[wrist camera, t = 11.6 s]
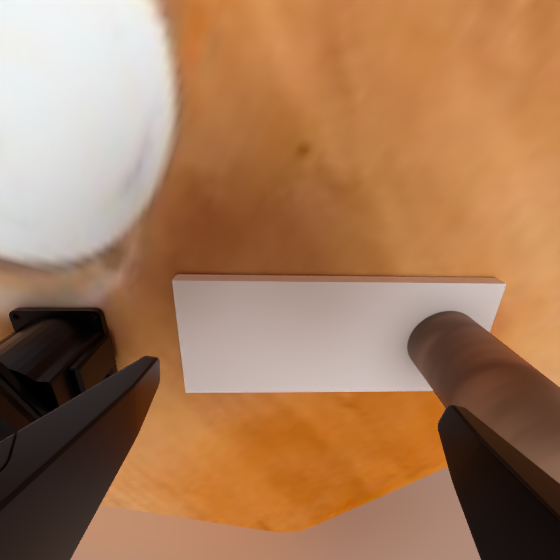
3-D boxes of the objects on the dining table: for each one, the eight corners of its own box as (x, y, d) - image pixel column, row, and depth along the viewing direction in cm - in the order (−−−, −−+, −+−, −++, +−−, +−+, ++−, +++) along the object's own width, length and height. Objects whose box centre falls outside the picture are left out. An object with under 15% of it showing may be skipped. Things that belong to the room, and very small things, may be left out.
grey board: (189, 382, 25) (185, 392, 24) (176, 274, 21) (171, 280, 20) (460, 380, 26) (468, 390, 25) (494, 277, 22) (506, 283, 21)
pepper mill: (412, 377, 24) (578, 626, 11) (402, 323, 22) (590, 553, 9) (479, 358, 24) (731, 596, 11) (474, 301, 22) (779, 512, 9)
